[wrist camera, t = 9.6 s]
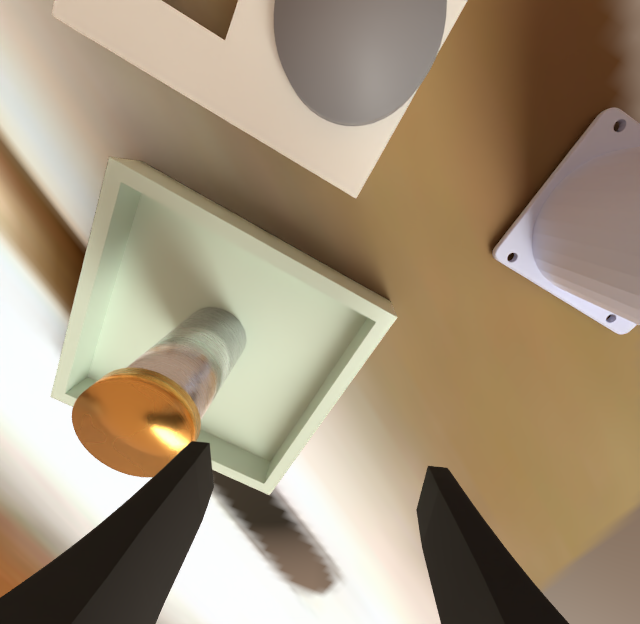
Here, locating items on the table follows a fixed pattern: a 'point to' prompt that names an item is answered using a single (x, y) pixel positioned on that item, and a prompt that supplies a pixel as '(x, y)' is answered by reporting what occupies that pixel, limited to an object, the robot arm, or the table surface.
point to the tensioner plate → (287, 68)
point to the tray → (226, 293)
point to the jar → (159, 395)
